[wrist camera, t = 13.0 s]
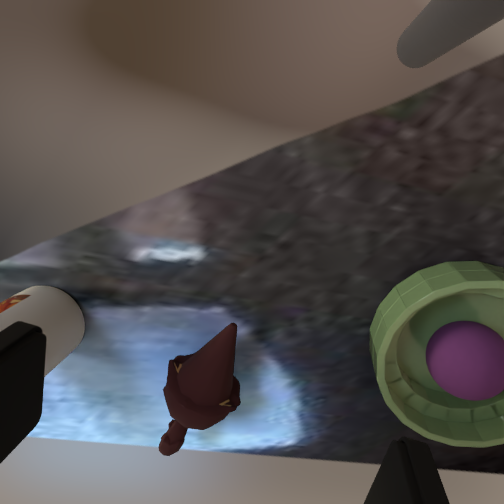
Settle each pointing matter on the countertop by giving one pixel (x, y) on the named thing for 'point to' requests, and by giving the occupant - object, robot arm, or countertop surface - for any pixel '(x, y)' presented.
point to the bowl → (415, 342)
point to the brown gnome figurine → (201, 389)
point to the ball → (467, 360)
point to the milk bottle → (47, 319)
